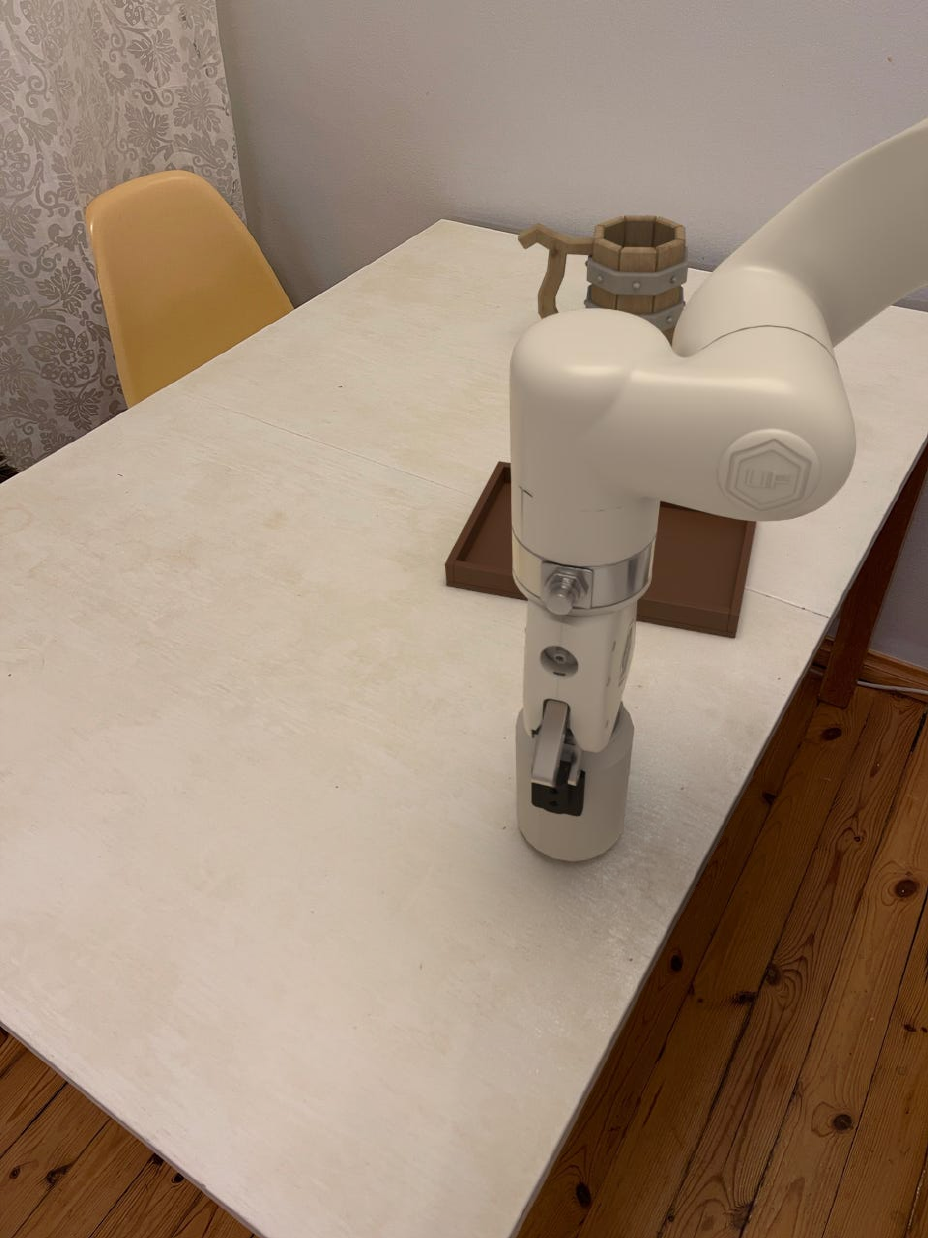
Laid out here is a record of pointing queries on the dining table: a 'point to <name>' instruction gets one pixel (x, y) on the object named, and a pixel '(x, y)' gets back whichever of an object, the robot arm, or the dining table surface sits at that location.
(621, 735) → the can
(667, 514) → the tray
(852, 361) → the dining table surface
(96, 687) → the dining table surface
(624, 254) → the tankard
